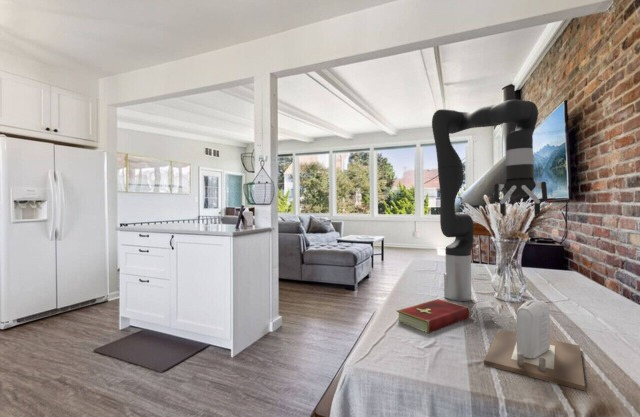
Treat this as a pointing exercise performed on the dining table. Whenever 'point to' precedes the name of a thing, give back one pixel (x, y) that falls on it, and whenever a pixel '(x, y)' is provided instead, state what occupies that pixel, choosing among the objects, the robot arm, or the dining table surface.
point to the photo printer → (533, 328)
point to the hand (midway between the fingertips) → (519, 215)
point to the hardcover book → (433, 315)
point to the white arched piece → (484, 306)
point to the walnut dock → (538, 361)
